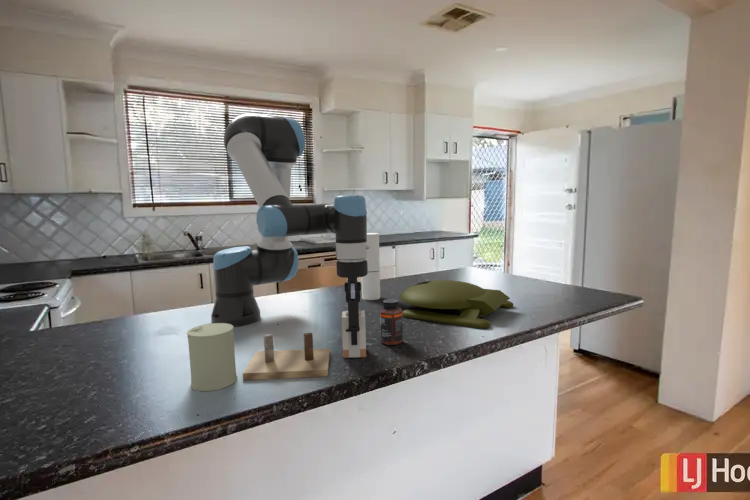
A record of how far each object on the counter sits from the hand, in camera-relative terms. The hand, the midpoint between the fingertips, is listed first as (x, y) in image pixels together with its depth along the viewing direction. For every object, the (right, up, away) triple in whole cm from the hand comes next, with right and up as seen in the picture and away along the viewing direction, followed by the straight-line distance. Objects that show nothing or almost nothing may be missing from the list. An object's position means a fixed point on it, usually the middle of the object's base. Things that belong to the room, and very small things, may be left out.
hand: (354, 351), depth 103 cm
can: (-29, -3, -15) cm, 33 cm away
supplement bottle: (+10, +1, +8) cm, 12 cm away
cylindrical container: (+4, +7, +58) cm, 58 cm away
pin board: (-15, -2, -7) cm, 16 cm away
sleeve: (0, 0, 0) cm, 0 cm away
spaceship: (+31, +4, +38) cm, 49 cm away
